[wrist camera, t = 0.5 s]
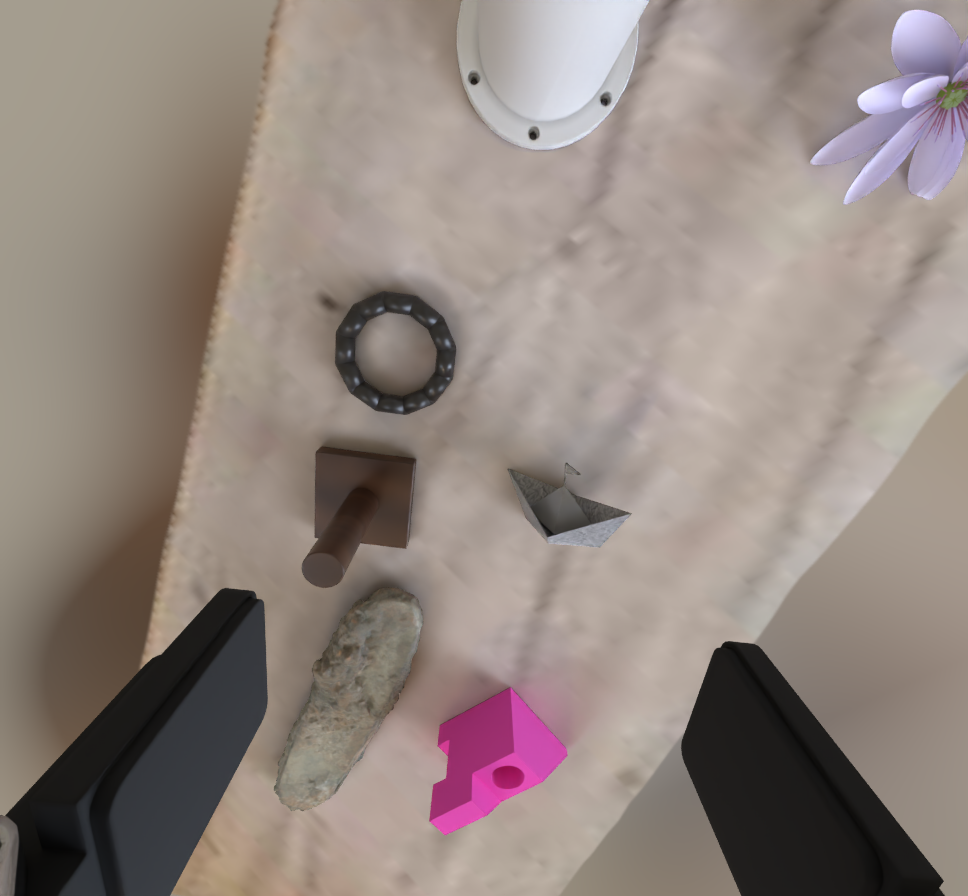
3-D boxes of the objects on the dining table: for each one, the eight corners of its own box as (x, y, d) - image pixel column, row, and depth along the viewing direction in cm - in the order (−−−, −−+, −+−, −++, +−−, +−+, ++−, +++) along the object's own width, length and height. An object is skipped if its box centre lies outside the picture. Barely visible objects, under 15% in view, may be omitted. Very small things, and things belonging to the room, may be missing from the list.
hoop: (340, 284, 37) (334, 284, 36) (461, 301, 38) (460, 302, 36) (337, 403, 41) (331, 407, 39) (448, 417, 41) (447, 422, 40)
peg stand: (321, 446, 42) (256, 506, 30) (416, 458, 43) (389, 522, 31) (319, 530, 45) (260, 614, 33) (409, 540, 45) (381, 628, 34)
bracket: (439, 725, 54) (429, 821, 44) (510, 687, 52) (515, 778, 42) (497, 782, 57) (499, 883, 47) (566, 748, 55) (583, 846, 45)
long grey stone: (266, 766, 58) (341, 785, 60) (248, 812, 53) (329, 832, 55) (356, 565, 46) (445, 597, 48) (342, 602, 41) (442, 636, 43)
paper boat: (490, 538, 44) (486, 462, 39) (522, 500, 48) (522, 427, 43) (609, 589, 38) (623, 509, 33) (633, 541, 43) (648, 464, 37)
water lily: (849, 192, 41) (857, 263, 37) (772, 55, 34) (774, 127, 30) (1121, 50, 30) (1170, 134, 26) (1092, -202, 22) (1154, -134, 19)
